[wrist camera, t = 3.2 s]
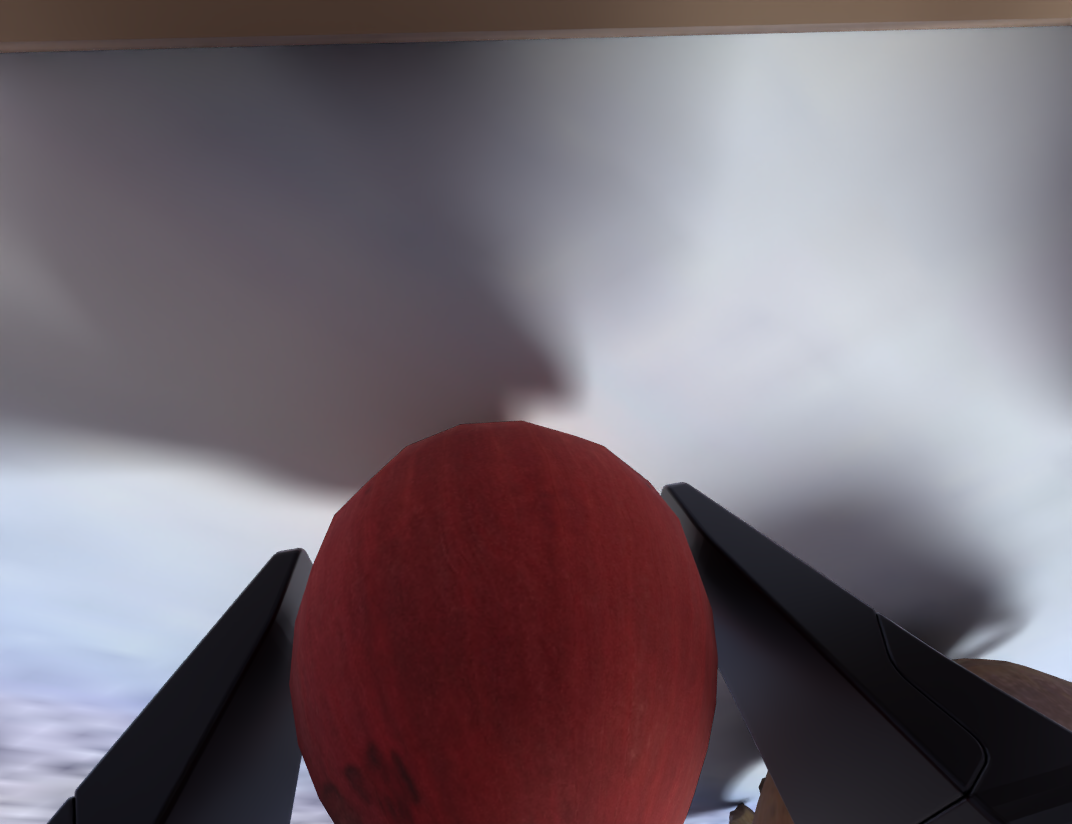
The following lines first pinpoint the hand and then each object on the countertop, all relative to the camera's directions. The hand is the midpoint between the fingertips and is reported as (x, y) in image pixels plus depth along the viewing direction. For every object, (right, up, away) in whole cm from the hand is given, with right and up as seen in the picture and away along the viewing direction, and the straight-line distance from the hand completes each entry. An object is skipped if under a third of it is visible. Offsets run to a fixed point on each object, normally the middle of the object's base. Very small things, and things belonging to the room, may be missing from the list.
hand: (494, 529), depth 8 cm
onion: (0, +1, +2) cm, 2 cm away
